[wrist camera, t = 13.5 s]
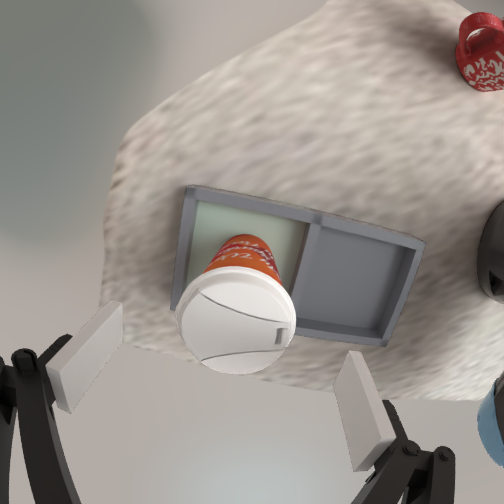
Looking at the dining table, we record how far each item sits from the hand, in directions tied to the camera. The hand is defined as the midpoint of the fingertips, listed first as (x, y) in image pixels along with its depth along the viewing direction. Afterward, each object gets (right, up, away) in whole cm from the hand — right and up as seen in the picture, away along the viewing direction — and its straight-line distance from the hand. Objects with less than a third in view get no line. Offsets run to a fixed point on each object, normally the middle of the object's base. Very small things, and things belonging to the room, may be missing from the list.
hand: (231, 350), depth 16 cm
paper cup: (0, +5, +15) cm, 16 cm away
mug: (+28, +29, +8) cm, 41 cm away
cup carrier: (+6, +4, +16) cm, 17 cm away
